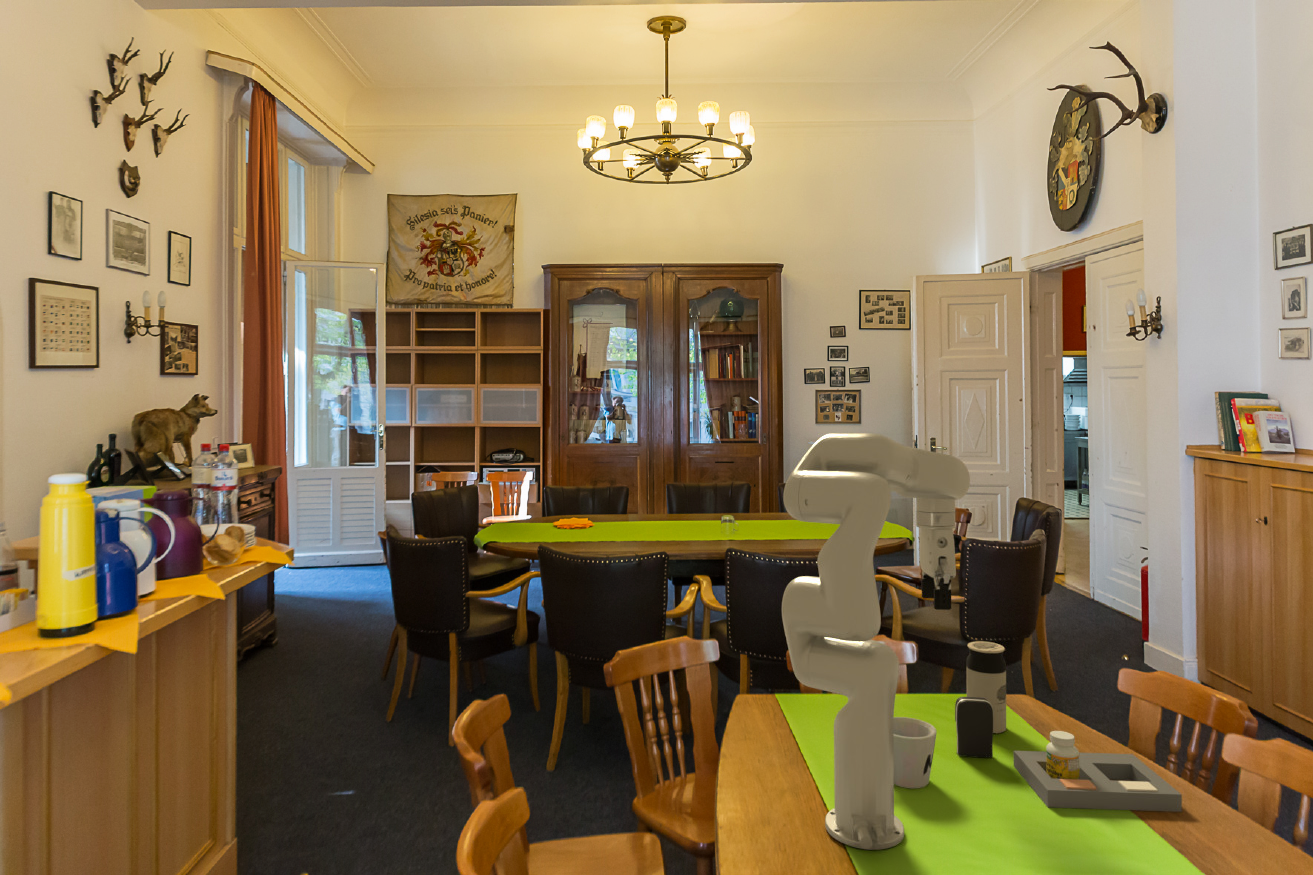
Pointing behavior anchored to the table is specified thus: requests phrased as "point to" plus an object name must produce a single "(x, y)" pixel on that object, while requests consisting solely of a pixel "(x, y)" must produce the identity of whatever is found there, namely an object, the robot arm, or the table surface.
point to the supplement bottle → (1062, 756)
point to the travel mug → (988, 679)
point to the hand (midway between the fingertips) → (936, 603)
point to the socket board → (1100, 783)
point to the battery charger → (974, 727)
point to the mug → (912, 752)
